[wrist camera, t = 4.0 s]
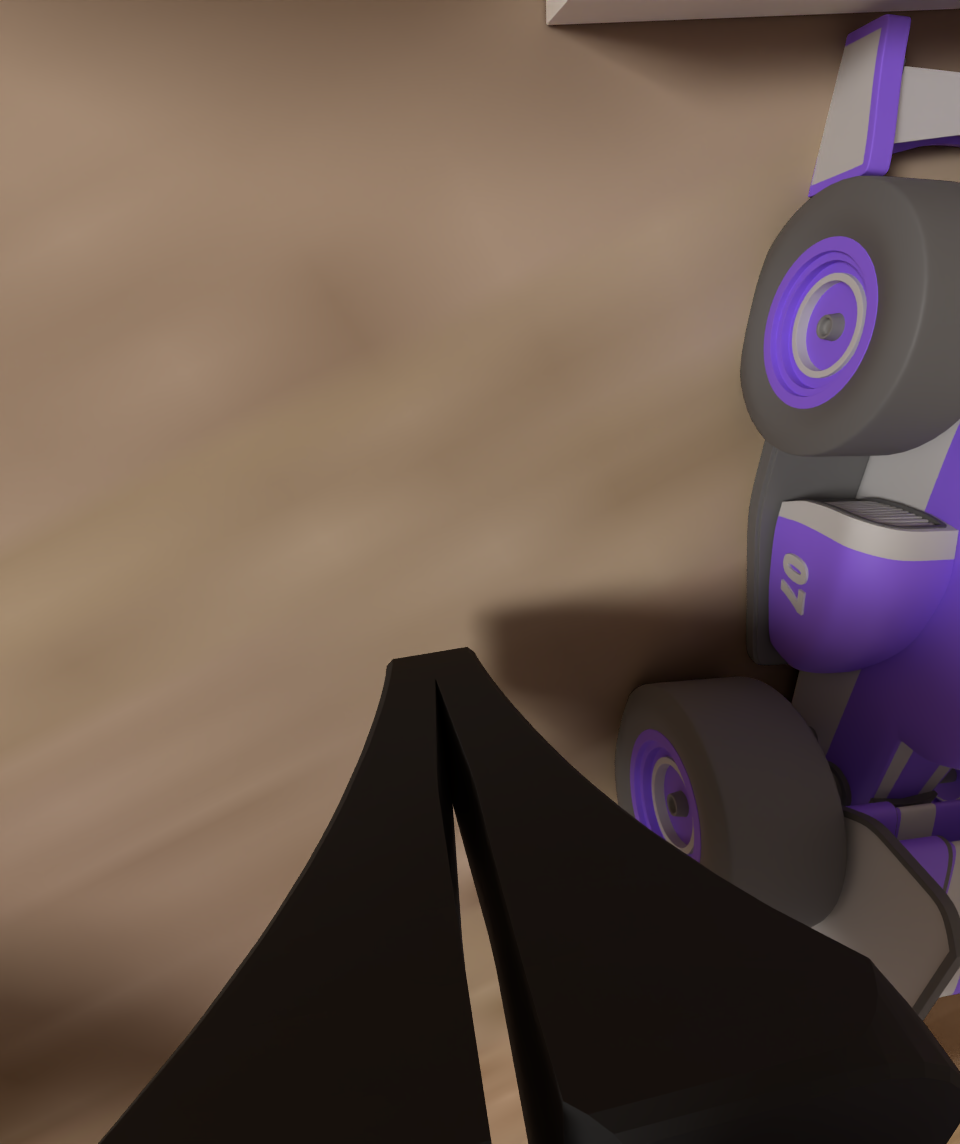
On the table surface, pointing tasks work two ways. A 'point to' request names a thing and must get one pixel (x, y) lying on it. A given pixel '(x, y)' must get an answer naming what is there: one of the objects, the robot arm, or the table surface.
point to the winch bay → (719, 9)
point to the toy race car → (842, 560)
